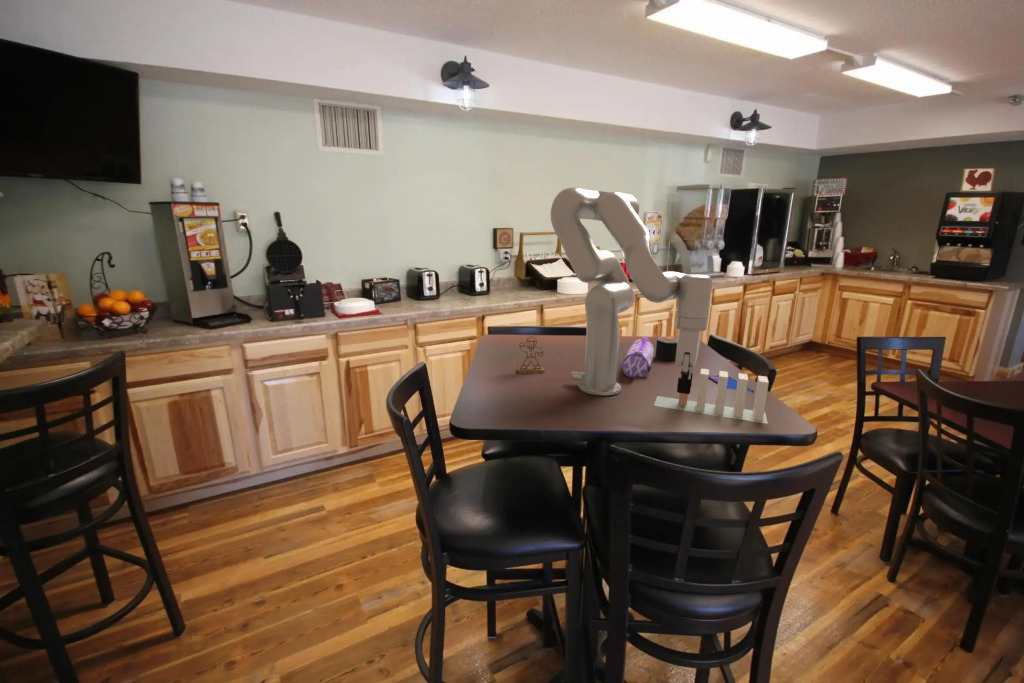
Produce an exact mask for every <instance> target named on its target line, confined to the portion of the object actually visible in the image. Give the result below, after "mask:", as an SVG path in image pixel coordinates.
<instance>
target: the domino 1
mask: <svg viewBox="0 0 1024 683" xmlns="http://www.w3.org/2000/svg"><path fill="white" fill-rule="evenodd" d="M688 367H690V365H688ZM682 370H683V369H682ZM688 371H689V370H688ZM688 398H689V394H684V393H678V399H679V402H678V404H682V405H686V404H687V401H689V399H688Z"/></svg>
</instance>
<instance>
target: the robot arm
mask: <svg viewBox="0 0 1024 683" xmlns="http://www.w3.org/2000/svg"><path fill="white" fill-rule="evenodd" d="M639 213H640V204H639V202H638V200H637V198H636V197H635V196H634V195H632V194H630V193H625V192H621V191H619V192H617V191H604V190H603V191H602V190H594V189H590V188H589V189H588V188H581V187H567V188H565V189H564V188H563V190H561V191H560V192H559V193H558V194H557V195H556V196H555V197H554V198H553V202H552V205H551V208H550V222H551V226H552V227H553V230H554V233H555V234H556V236H557V238H558V240H559V242H560V244H561V246H562V248H563V250H564V253H565V255H566V257H567V260H568V261H569V263H570V265H571V267H572V270H573V271H574V274H575V276H576V278H577V279H578V280H579V281H580V282H581V283H585V284H592V283H593V284H594V283H596V285H595V286H593V287H592V288H591V289H590V290H589V291H587V294H586V297H585V300H584V308H585V309H584V310H585V317H586V318H585V319H586V329H585V330H586V332H585V333H586V335H585V336H586V338H585V352H584V353H585V355H584V371H581V372H578V371H574V370H572V371H571V372H570V378H571V379H572V380H575V381H579V382H578V386H577V387H578V389H579V390H580V391H581V392H583V393H585V394H589V395H594V396H602V397H603V396H604V397H605V396H606V397H607V396H612V395H613V396H614V395H617V394H619V393H620V392H622V386H621V384H620V383H618V382H617V377H618V376H617V375H618V364H619V363H618V361H619V360H618V358H619V348H620V347H619V346H620V332H621V330H620V322H619V314H621V313H624V312H626V311H628V310H629V309H630V308H631V307H632V305H633V303H634V301H635V294H634V293H635V292H634V289H633V286H632V285H631V283H630V280H629V279H628V276H627V275H626V272H625V270H624V269H623V266H622V264H621V262H620V260H619V258H618V257H617V256H616V255H615V254H614V253H613V252H612V251H610V250H609V249H608V250H607V249H603V248H602V249H601V248H600V249H598V247H597V246H596V245H595V243H594V241H593V239H592V236H591V234H590V233H589V231H588V229H587V228H586V227H585V226H584V224H583V223H582V222H581V220H592V221H600V222H602V224H603V225H604V227H605V228H606V229H607V231H608V232H609V234H610V235H611V237H612V239H613V240H614V241H615V243H616V245H617V246H618V247H619V249H620V250H621V252H622V255H623V256H622V257H623V261H624V263H625V264H624V266H625V268H626V271H627V274H628V275H629V277H630V279H631V280H632V282H633V283H634V285H635V286H636V287H637V289H638V291H639V292H640V294H641V295H642V296H643V297H644V298H645V299H646V300H647V301H649V302H651V303H654V304H655V303H656V304H657V303H658V304H660V303H664V302H666V301H671V300H677V308H676V309H677V312H676V318H675V328H676V329H677V330H679V331H678V336H677V338H678V342H677V351H676V359H675V361H674V366H675V368H678V367H679V368H680V369H679V376H678V377H677V378H678V379H677V385H676V386H677V387H676V388H677V389H676V392H677V393H678V394H679V393H684V394H688V395H690V393H691V388H692V383H693V369H695V367H696V365H697V364H696V363H697V359H698V355H699V351H700V350H699V349H700V343H701V338H702V337H701V336H702V332H705V331H707V330H708V329H707V328H708V321H709V320H708V319H709V312H710V311H709V310H710V305H711V304H710V303H711V296H712V287H713V279H712V277H711V276H710V275H706V274H702V273H701V274H699V273H698V274H697V273H688V274H687V273H683V272H678V271H674V270H673V271H671V270H668V271H667V270H665V271H662V270H661V269H660V267H659V265H658V264H657V263H656V261H655V260H654V258H653V256H652V254H651V250H650V246H649V245H650V242H651V233H650V231H649V230H648V228H647V226H646V225H645V224H644V223H643V221H642V219H641V218H640V217H639ZM688 365H690V367H688ZM682 369H683V370H682ZM688 370H689V371H688Z"/></svg>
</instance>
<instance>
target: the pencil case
mask: <svg viewBox="0 0 1024 683" xmlns="http://www.w3.org/2000/svg"><path fill="white" fill-rule="evenodd" d="M649 339H650V338H649V337H647V336H646V337H645V336H641V338H637V339H635V340H633V342H632V343H631V344H630V347H629V348H628V350H627V352H626V355H625V356H624V358H623V360H622V363H621V368H622V371H623V373H624V374H625V375H626V376H627V377H628V378H632V379H635V378H636V377H639V378H640V377H641V378H645V377H646V376H647V375H648V373H650V372H651V368H652V367H651V365H652V362H653V359H654V353H655V349H654V345H653V344H652V342H651V341H650V340H649Z"/></svg>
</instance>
